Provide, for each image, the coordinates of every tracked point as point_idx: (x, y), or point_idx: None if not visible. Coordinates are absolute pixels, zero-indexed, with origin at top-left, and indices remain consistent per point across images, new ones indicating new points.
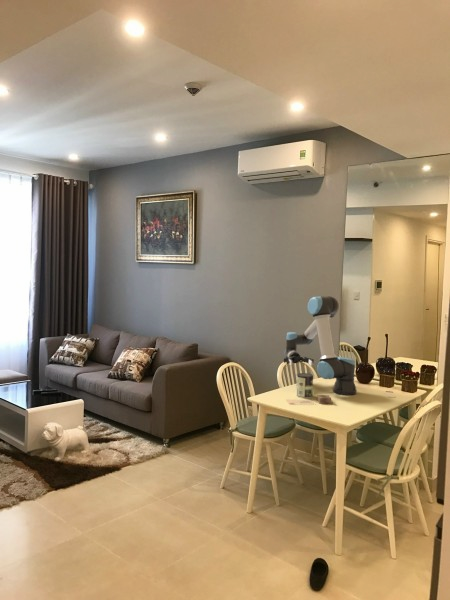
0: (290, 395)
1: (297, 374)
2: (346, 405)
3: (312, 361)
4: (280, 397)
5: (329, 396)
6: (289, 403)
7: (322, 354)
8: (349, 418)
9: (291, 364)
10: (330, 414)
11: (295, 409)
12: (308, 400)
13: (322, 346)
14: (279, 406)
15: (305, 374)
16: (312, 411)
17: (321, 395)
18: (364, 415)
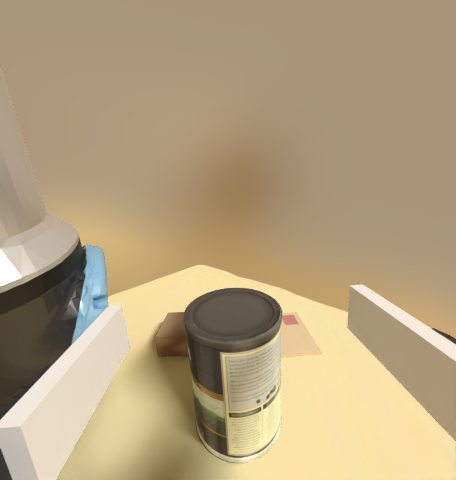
0: (316, 431)
1: (278, 311)
2: (129, 326)
3: (36, 373)
4: (355, 386)
5: (162, 325)
6: (298, 320)
7: (42, 206)
8: (182, 276)
9: (351, 319)
10: (208, 284)
11: (278, 295)
12: None
13: (16, 120)
14: (321, 305)
15: (226, 320)
16: None
17: (184, 332)
18: (143, 286)
